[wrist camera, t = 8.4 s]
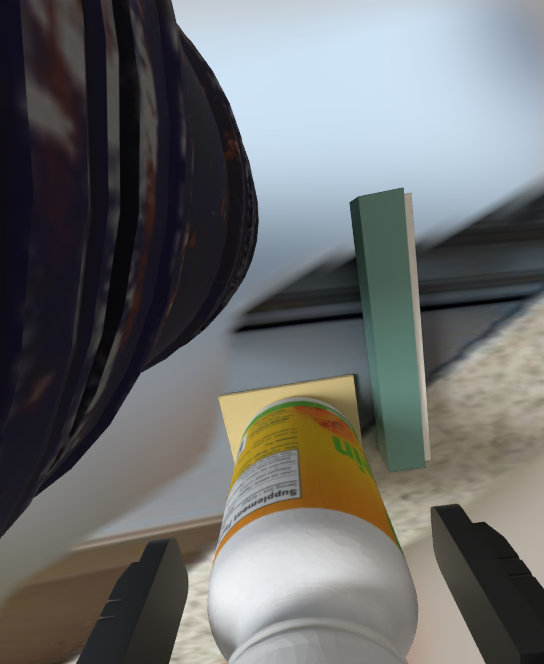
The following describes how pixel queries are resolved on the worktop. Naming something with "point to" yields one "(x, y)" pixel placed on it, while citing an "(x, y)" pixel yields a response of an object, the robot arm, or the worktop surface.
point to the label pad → (249, 403)
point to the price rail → (392, 325)
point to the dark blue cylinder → (105, 219)
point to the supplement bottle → (308, 549)
